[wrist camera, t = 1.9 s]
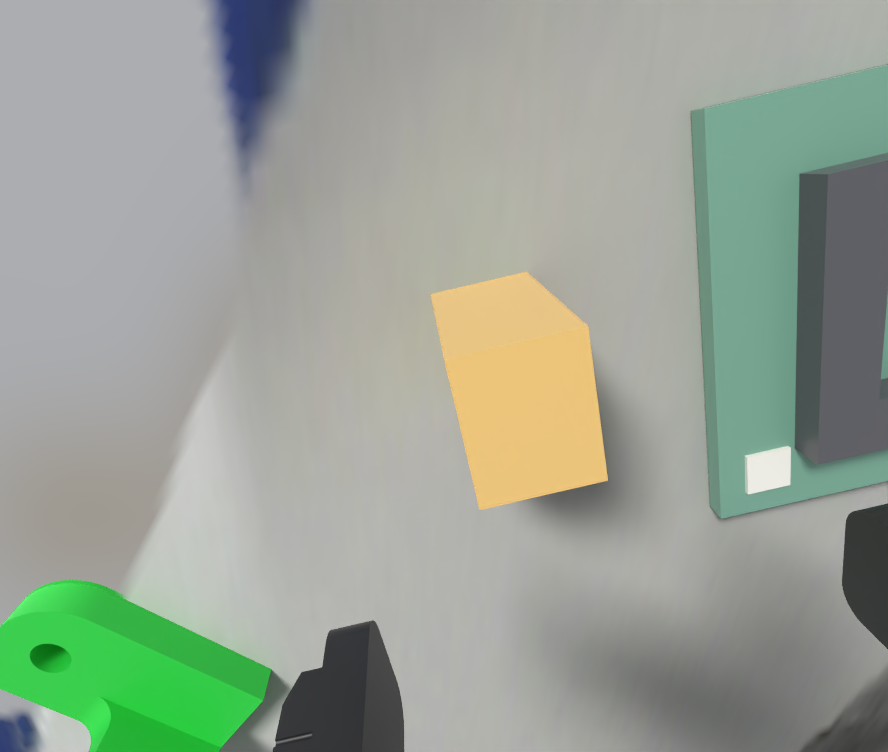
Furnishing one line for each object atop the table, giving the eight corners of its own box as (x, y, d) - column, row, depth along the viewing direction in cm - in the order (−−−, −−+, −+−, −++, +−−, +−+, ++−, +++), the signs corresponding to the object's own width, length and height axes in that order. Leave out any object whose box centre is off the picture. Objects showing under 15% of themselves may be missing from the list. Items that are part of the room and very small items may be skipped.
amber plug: (526, 271, 22) (588, 326, 15) (545, 382, 24) (607, 480, 17) (430, 294, 22) (444, 359, 15) (456, 403, 24) (479, 510, 17)
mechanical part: (272, 666, 29) (227, 837, 22) (213, 733, 31) (152, 915, 23) (50, 559, 26) (-91, 719, 19) (-4, 640, 27) (-156, 818, 20)
